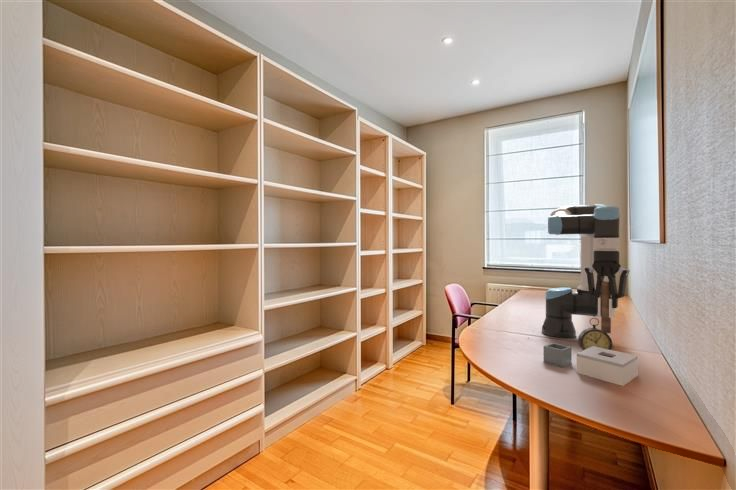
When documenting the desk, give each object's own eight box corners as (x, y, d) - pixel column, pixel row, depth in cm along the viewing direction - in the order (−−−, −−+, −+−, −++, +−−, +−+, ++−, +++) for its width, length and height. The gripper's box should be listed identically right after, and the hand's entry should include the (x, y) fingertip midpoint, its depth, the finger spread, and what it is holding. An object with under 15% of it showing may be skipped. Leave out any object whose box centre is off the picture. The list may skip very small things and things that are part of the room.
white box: (592, 364, 131) (593, 346, 131) (637, 375, 120) (637, 355, 120) (576, 372, 123) (576, 353, 123) (622, 385, 112) (623, 364, 112)
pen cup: (552, 358, 138) (552, 342, 138) (571, 363, 132) (571, 347, 132) (543, 361, 134) (543, 345, 134) (562, 367, 128) (562, 350, 128)
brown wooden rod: (603, 330, 123) (603, 281, 123) (612, 332, 121) (612, 281, 121) (599, 332, 122) (599, 281, 121) (608, 333, 119) (609, 282, 119)
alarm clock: (581, 358, 137) (581, 318, 137) (577, 354, 143) (577, 315, 142) (612, 361, 134) (612, 320, 134) (607, 356, 139) (607, 317, 139)
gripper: (577, 249, 125) (577, 313, 125) (629, 250, 112) (629, 321, 113) (586, 249, 130) (586, 311, 130) (637, 250, 117) (637, 318, 117)
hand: (606, 316), depth 121 cm, fingers closed on brown wooden rod, 3 cm apart
